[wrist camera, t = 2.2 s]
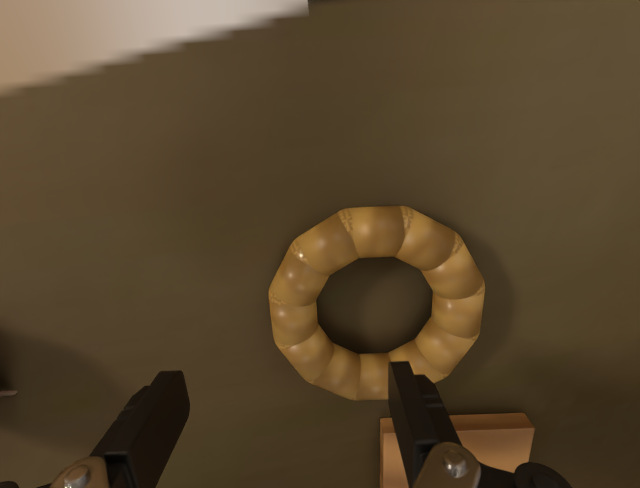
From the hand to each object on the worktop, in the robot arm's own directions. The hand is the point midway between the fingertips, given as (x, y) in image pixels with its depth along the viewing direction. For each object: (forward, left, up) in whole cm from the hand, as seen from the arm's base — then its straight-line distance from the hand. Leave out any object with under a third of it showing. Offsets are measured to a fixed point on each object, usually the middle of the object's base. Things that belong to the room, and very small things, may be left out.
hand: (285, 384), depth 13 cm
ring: (0, +4, -5) cm, 6 cm away
